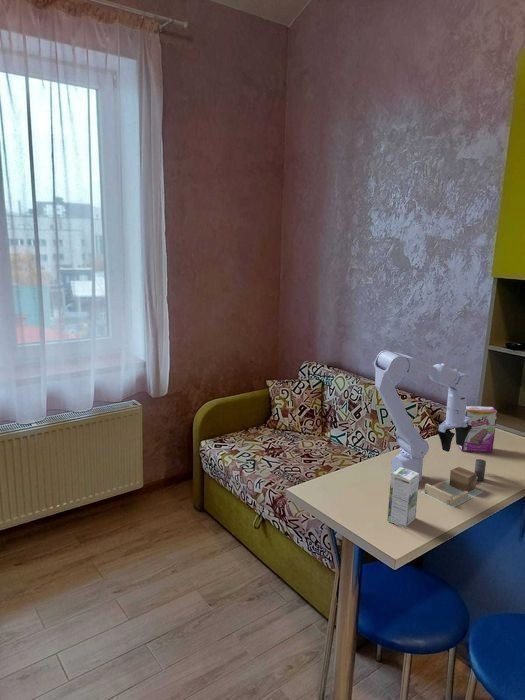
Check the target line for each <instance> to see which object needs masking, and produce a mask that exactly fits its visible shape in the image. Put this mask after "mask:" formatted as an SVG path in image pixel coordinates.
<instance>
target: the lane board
mask: <svg viewBox="0 0 525 700" xmlns="http://www.w3.org/2000/svg"><path fill="white" fill-rule="evenodd" d="M449 483H450V478H449V479H447V480H441V481H439V482H437V483H435V484H433V485H431V484H430V483H425V484H424V490H423V491H421V492H420V493H421V494H422V495H425V496H427V497H428V498H430V499H433V500H435V501H437V502H438V503H441V504H442V505H445V506H447V507H449V508H451V509H454V508H455V507H457V506H460V505H461V504H463V503H466V502H467V501H468V500H471V499H474V498H475V497H477V496H478V495H482V494H483V493H484V491H482V490H480V489H477V488H475V489H473V490H471V491H469V492H467V491H462V490H459V489H457V488H455V487H453V486H450V485H449Z"/></svg>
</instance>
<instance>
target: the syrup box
mask: <svg viewBox="0 0 525 700" xmlns="http://www.w3.org/2000/svg"><path fill="white" fill-rule="evenodd" d="M419 483H420V482H419V473H416V472H414V471H412V470H409V469H406V468H401V467H400V468H399V469H398V470H396V471H395V472H394V473H392V474H391V473H390V482H389V495H388V508H387V522H388V521H389V522H388V523H391V524H393V523H394V525H396V526H399V527H402V528H404V529H406V527H408V526H409V525H410V524H411V523H413V521H414V520H415V519H416V513H417V504H418V503H417V502H418V493H419Z"/></svg>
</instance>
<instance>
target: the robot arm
mask: <svg viewBox="0 0 525 700" xmlns="http://www.w3.org/2000/svg"><path fill="white" fill-rule="evenodd" d="M373 366H374V370H375V371H374V372H375V376H374V377H375V379H374V380H375V381H374V385H375V389H376V392H378V395H379V397H380V399H381V401H382V402H383V405H384V407H385V408H386V409H385V410H386V412H387V413H388V414H389V415H388V416H389V417H390V419H391V421H392V423H393V425H394V427H395V429H396V430H395V432H394V434H395V435H396V444H397V446H399V453H398V454H397V455H395V456H393V457H392V459H391V466H390V475H391V474H392V473H394V472H395V471H396V470H398V469H399V468H400V467H401V468H406V469H409V470H412V471H414V472H416V473H419V483H420V482H421V481H422V479H423V467H424V466H423V465H424V458H425V457H426V455H427V454H428V452H429V450H430V445H429V442H428V441H427V440H425V439H424V438H423V437H422V435H421V433H419V431H418V430H417V429H416V428H415V426H414V424H413V422H412V420H411V419H410V415H409V414H408V411H407V409H405V408H406V407H405V406H404V403H403V401H402V399H401V398H400V395H399V393H398V391H397V389H396V386H397V385H398V384H399V383H400V381H401V380H402V379H403V378H404V376H405V375H406V373H411V371H416V372H418V373H422V374H424V375H428V377H429V379H430V380H431V381H432V382H434V383H437V384H439V385H442V386H445V387H448V389H447V401H446V412H445V413H446V414H445V419H444V421H442V423H441V424H438V427H437V428H436V432H437V436H438V438H439V439H440V444H441V449H442V451H445V452H447V453H448V452H450V450H451V447H452V441H453V438H454V437H455V444H456V445H457V446H458V445H459V446H463V444H464V442H465V439H466V437H467V435H468V433H469V431H470V430H471V429H472V426H471V425H468V424H469V423H470V419H471V418H470V417H466V416H465V412H466V406H467V400H468V396H469V392H470V390H471V389H472V387H473V384H474V383H473V382H472V380H471V377H470V376H469V375H468V374H466V373H463V372H460V371H459V369H457V368H451V367H448V365H447V364H445V363H441V364H440V363H437V364H436V363H435V364H434V365H431V364H429V363H426V362H424V361H421V360H419V359H417V358H415V357H413V356H409V355H407V354H403V353H400V352H395V351H394V352H392V351H390V350H388V349H385V350H381V351H380V352H379V353H378V354H377V356H376V357H375V360H374V362H373ZM452 429H454V430H455V433H454V432H451V430H452ZM459 446H458V447H459Z"/></svg>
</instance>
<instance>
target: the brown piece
mask: <svg viewBox="0 0 525 700" xmlns="http://www.w3.org/2000/svg"><path fill="white" fill-rule="evenodd" d="M486 464H487V461H486V460H484V459H482V458H477V459H475V464H474V471H472V470H468V469H467V468H464V467H461V466H458V467H456V468H453V469H451V470H450V473H449V479H450V483H449V485H450V486H453V487H455V488H457V489H459V490H462V491H467V492H469V491H471V490H473V489H476V486H477V485H476V483H477V481H484V480H485V476H486V475H485V474H486Z"/></svg>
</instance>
